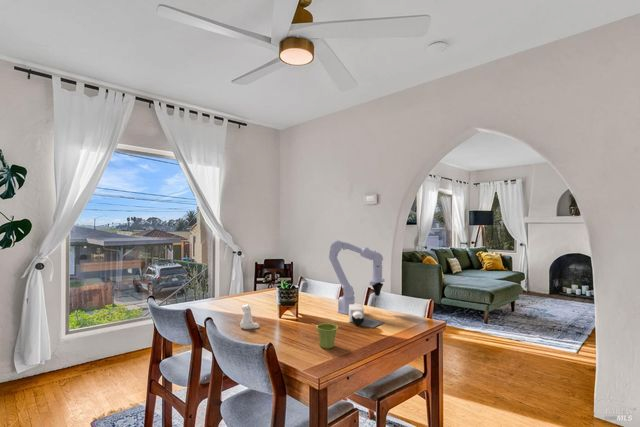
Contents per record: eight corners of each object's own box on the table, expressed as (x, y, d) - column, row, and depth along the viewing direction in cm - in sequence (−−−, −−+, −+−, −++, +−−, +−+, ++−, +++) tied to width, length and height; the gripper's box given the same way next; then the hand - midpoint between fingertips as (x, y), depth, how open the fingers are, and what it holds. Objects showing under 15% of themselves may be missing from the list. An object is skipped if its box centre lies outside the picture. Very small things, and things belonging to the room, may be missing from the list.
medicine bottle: (361, 316, 194) (364, 326, 183) (348, 316, 194) (351, 326, 182) (361, 304, 193) (365, 313, 181) (348, 304, 193) (351, 313, 181)
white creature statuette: (260, 327, 179) (260, 304, 179) (245, 331, 173) (245, 307, 173) (251, 323, 186) (251, 301, 186) (236, 327, 180) (236, 303, 180)
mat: (348, 322, 188) (348, 321, 188) (360, 317, 197) (360, 316, 197) (373, 328, 178) (373, 327, 178) (384, 322, 188) (384, 321, 188)
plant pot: (336, 342, 158) (336, 323, 158) (338, 350, 149) (338, 330, 149) (316, 342, 158) (316, 323, 158) (316, 350, 148) (316, 330, 148)
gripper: (377, 275, 200) (377, 298, 199) (389, 272, 211) (389, 294, 211) (366, 273, 204) (366, 296, 204) (378, 270, 215) (378, 292, 215)
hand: (377, 295), depth 208 cm, fingers closed
